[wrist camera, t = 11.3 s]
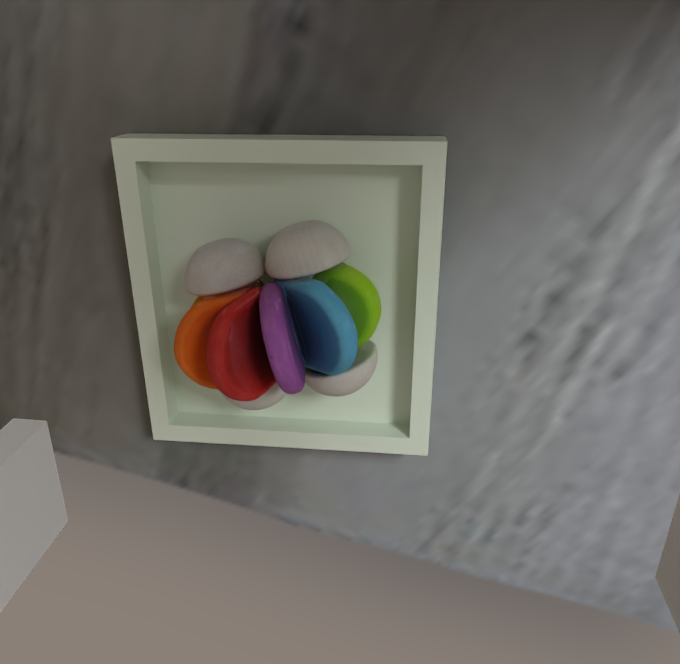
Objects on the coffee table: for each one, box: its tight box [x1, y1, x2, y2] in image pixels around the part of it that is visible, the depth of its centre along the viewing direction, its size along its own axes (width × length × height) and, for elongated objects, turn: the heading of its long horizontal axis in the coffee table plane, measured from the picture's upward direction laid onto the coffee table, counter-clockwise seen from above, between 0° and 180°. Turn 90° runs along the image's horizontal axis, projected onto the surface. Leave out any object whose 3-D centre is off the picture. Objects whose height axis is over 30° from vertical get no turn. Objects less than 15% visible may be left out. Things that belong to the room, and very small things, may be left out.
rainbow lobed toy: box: [174, 220, 381, 410], centre depth 29 cm, size 8×10×7 cm
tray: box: [111, 133, 447, 456], centre depth 32 cm, size 16×15×2 cm
